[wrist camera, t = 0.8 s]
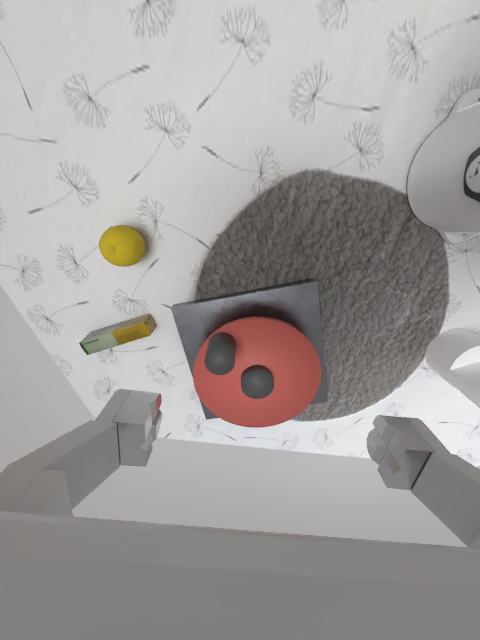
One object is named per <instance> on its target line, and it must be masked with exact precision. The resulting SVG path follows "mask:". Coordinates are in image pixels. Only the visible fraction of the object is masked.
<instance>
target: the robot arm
mask: <svg viewBox="0 0 480 640" xmlns="http://www.w3.org/2000/svg"><path fill="white" fill-rule="evenodd" d="M478 99H480V88H478V89H472V90H470V91H467V92H465V93H464V94H463V95H462V96H461V97H460V98H459V99H458V101H457V102H456V104H455V105H454V107H453V109H452V111H451V112H450V114H449V116H448V117H447V119H446V120H445V121H444V122H443V123H442V124H441V125H440V126H439V127H437V128H436V129H435V130H434V131H433V132H432V133H431V134H430V135H429V136H428V138H427V139H426V140H425V141H424V143H423V144H422V145H421V147H420V149H419V150H418V152H417V154H416V156H415V158H414V160H413V162H412V165H411V168H410V172H409V176H408V183H407V193H408V200H409V203H410V206H411V209H412V211H413V212H414V214H415V215H416V216H417V218H418V219H419V220H420V221H422V222H423V223H424V224H426V225H428V226H430V227H432V228H434V229H436V230H437V231H438V232H439V234H440V235H441V237H442V238H443V239H444V241H445V242H447V243H449V244H457V243H460V242H463V241H465V240H468V239H471V238H474V237H476V236H479V235H480V101H479V102H478ZM462 234H463V235H462ZM160 405H161V394H160V393H152V392H144V391H136V390H126V389H118V390H117V391H116V392H115V393H114V394H113V396H112V397H111V399H110V400H109V402H108V403H107V404H106V406H105V407H104V409H103V410H102V411H101V413H100V414H99V416H98V417H97V419H96V420H95V421H91V420H90V421H88V422H87V423H85V424H83V425H81V426H79V427H77V428H76V429H74V430H72V431H70V432H68V433H66V434H64V435H63V436H61V437H59V438H57V439H56V440H54V441H52V442H50V443H48V444H46V445H44V446H42V447H41V448H39V449H37V450H35V451H33V452H31V453H29V454H28V455H26V456H24V457H22V458H21V459H18V460H17V461H15V462H13V463H11V464H9V465H8V466H7V467H6V468H5V469H4V470H3V471H2V472H1V474H0V640H480V470H479V469H478V468H476V467H474V466H473V465H471V464H470V463H468V462H466V461H465V460H463V459H462V458H460V457H458V456H457V455H454V454H451V453H450V452H449V451H448V450H447V449H446V448H445V446H444V445H443V444H442V443H441V442H440V441H439V440H438V439H437V437H436V436H435V435H434V434H433V433H432V432H431V431H430V429H429V428H428V427H427V426H426V425H425V424H424V423H423V421H421V420H420V419H418V418H406V417H404V418H402V417H391V416H381V415H378V416H377V417H376V418H375V419H374V422H373V425H374V427H375V428H374V429H373V430H372V431H370V432H369V434H368V437H367V449H368V452H369V455H370V457H371V458H372V459H373V460H374V461H375V462H376V463H377V464H378V465H379V466H378V472H379V474H380V475H381V477H382V479H383V481H384V483H385V485H386V487H387V488H394V489H395V488H396V489H404V490H411V492H412V493H413V494H414V495H415V496H416V497H417V498H418V499H419V500H420V501H421V502H422V503H423V504H424V505H425V506H426V507H427V508H428V509H429V510H430V511H431V512H432V513H433V514H434V515H436V516H437V517H438V518H439V519H440V520H441V521H442V522H443V523H444V524H445V525H446V526H447V527H448V528H449V529H450V530H451V531H452V532H453V533H454V534H455V535H456V536H457V537H458V538H459V539H460V540H461V541H462V542H463V543H465V544H466V545H467V546H468V547H469V548H468V547H454V546H443V545H430V544H417V543H404V542H390V541H377V540H363V539H351V538H338V537H326V536H313V535H301V534H288V533H274V532H263V531H250V530H237V529H224V528H212V527H199V526H186V525H174V524H161V523H148V522H135V521H122V520H110V519H97V518H84V517H73V514H72V509H73V508H74V507H75V506H76V505H77V504H78V503H80V502H81V501H82V500H83V499H84V498H85V497H86V496H88V495H89V494H90V493H91V492H92V491H93V490H94V489H95V488H96V487H98V486H99V485H100V484H101V483H102V482H103V481H104V480H105V479H107V478H108V477H109V476H110V475H111V474H112V473H113V472H114V471H115V470H116V469H118V468H119V466H120V465H128V466H146V464H147V462H148V459H149V457H150V454H151V452H152V442H153V441H154V440H156V438H157V435H158V432H159V428H160V424H161V411H160V410H159V407H160Z"/></svg>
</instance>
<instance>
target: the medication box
mask: <svg viewBox="0 0 480 640" xmlns="http://www.w3.org/2000/svg"><path fill="white" fill-rule="evenodd" d="M155 326H157V325H156V324H155V321H154V319H153V318H152V316H151V314H147V315H143V316H140V317H137V318H134V319H131V320H127V321H124V322H121V323H118V324H115V325H112V326H108V327H105V328H102V329H99V330H96V331H93V332H91V333H90V334H88V335H87V336H86V337H85V338H84V339H83V340H82V341H81V342H80V343H79V344H80V345H81V347H82V349H83V350H84V351H85V353H86V354H87V355H88V354H92V353H96V352H99V351H102V350H105V349H108V348H112V347H115V346H118V345H121V344H124V343H128V342H131V341H134V340H137V339H140V338H144V337H147V336H150V335H151V333H152V332H153V330H154V328H155Z"/></svg>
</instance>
